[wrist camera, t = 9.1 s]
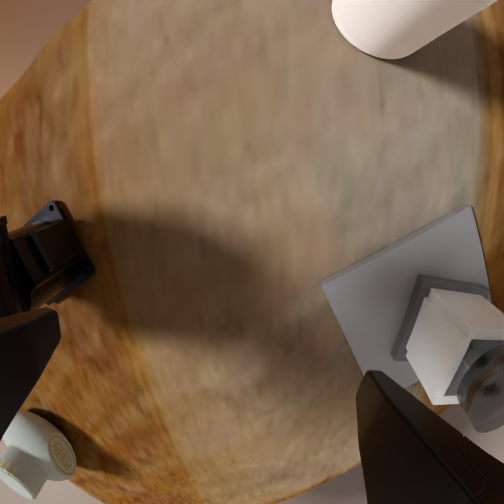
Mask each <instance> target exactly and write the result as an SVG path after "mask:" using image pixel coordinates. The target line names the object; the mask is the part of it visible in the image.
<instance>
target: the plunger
mask: <svg viewBox="0 0 504 504" xmlns="http://www.w3.org/2000/svg"><path fill="white" fill-rule="evenodd" d="M463 360H464V361H465V362H466V364H467V365H468V366H469V369H468V370H467V371H466V373H465V374H464V376H463V378H462V380H461V382H460V384H459V387H458V390H457V399H458V401H459V403H460V404H461V406H462V408H463V410H464V411H465V413H466V415H467V416H468V418H469V420H470V421H471V423H472V425H473V426H474V428H475V430H476V431H478V432H482V433H484V432H489V431H492V430H495V429H497V428H499V427H501V426H502V425H504V345H502V346H497V347H495V348H493V349H491V350H489V351H487V352H486V353H484V354H483V355H482V356H480V354H479V353H478V352H477V351H476V350H475V349H474V348H473V346H472V345H471V344H469V346H468V349H467V351H466V353H465V355H464V357H463Z"/></svg>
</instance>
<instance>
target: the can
mask: <svg viewBox="0 0 504 504" xmlns="http://www.w3.org/2000/svg"><path fill="white" fill-rule="evenodd" d="M496 1H497V0H333V1H332V15H333V18H334V21H335V23H336V25H337V27H338V29H339V30H340V32H341V33H342V35H343V36H344V37H345V38H346V39H347V40H348V41H349V42H350V43H351V44H353V45H354V46H355V47H357V48H358V49H360V50H361V51H363V52H365V53H367V54H370V55H372V56H375V57H378V58H383V59H399V58H403V57H406V56H408V55H410V54H412V53H414V52H415V51H417V50H419V49H420V48H422V47H423V46H425V45H426V44H428V43H429V42H431V41H433V40H434V39H436V38H437V37H439V36H441V35H442V34H444V33H445V32H447V31H449V30H450V29H452V28H453V27H455V26H457V25H458V24H460V23H461V22H463V21H465V20H466V19H468V18H470V17H471V16H473V15H475V14H476V13H478V12H480V11H481V10H483V9H485V8H486V7H488V6H490V5H491V4H493V3H494V2H496Z"/></svg>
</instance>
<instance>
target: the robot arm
mask: <svg viewBox="0 0 504 504" xmlns="http://www.w3.org/2000/svg"><path fill="white" fill-rule="evenodd" d="M52 205H53V206H54V210H53V209H52ZM6 224H7V218H6V215H5V216H1V217H0V441H1V439H2V437H3V435H4V434H5V432H6V430H7V429H8V427H9V425H10V424H11V422H12V420H13V419H14V417H15V416H16V414H17V412H18V411H19V409H20V407H21V406H22V404H23V403H24V401H25V400H26V398H27V397H28V395H29V393H30V392H31V390H32V389H33V387H34V386H35V384H36V383H37V381H38V380H39V378H40V376H41V375H42V373H43V371H44V369H45V367H46V365H47V363H48V362H49V360H50V358H51V356H52V354H53V352H54V351H55V349H56V347H57V345H58V343H59V341H60V338H61V331H60V325H59V318H58V313H57V312H56V311H55V310H53V309H50V308H46V307H44V308H40V307H41V306H42V305H43V304H45V303H46V304H48V305H50V304H52V303H53V302H55V301H56V300H58V299H59V298H60V297H62V296H63V295H65V294H66V293H68V292H69V291H71V290H72V289H74V288H75V287H77V286H78V285H80V284H82V283H83V282H85V281H86V280H88V279H89V278H91V277H92V276H93V275H94V274H95V269H94V267H93V265H92V263H91V262H90V260H89V258H88V257H87V255H86V253H85V251H84V250H83V248H82V246H81V244H80V242H79V240H78V239H77V237H76V235H75V233H74V232H73V230H72V228H71V226H70V224H69V222H68V221H67V219H66V217H65V215H64V213H63V211H62V210H61V208H60V206H59V204H58V202H57V201H50V202H48V203H47V204H46V205H45V206H44V207H43V208H42V209H41V210H40V211H39V212H38V213H37V214H36V215H35V216H34V217H33V218H32V219H31V220H29V221H28V222H27V223H26V224H25V225H24V226H23V227H21V228H19V229H16V230H13V231H11V232H8V231H7V226H6ZM87 269H88V270H89V271H90V273H88V272H87ZM38 308H40V309H38ZM356 408H357V424H358V442H359V450H360V456H361V463H362V469H363V475H364V482H365V488H366V496H367V502H368V504H504V463H502V462H500V461H499V460H497V459H496V458H494V457H493V456H491V455H490V454H488V453H487V452H485V451H484V450H482V449H481V448H480V447H478V446H477V445H476V444H474V443H473V442H472V441H471V440H469V439H468V438H467V437H465V436H464V437H463V434H461V433H460V432H459V431H458V430H456V429H455V428H454V427H452V426H451V425H450V424H449V423H447V422H446V421H445V420H443V419H442V418H441V417H440V416H438V415H437V414H436V413H434V412H433V411H432V410H431V409H429V408H428V407H427V406H426V405H424V404H423V403H422V402H420V401H419V400H418V399H417V398H415V397H414V396H413V395H412V394H410V393H409V392H408V391H406V390H405V389H404V388H403V387H401V386H400V385H399V384H398V383H396V382H395V381H394V380H393V379H391V378H390V377H389V376H387V375H386V374H385V373H384V372H382V371H380V370H368V371H367V372H366V373H365V375H364V377H363V380H362V382H361V384H360V387H359V389H358V391H357V395H356Z"/></svg>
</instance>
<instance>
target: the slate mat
mask: <svg viewBox="0 0 504 504" xmlns="http://www.w3.org/2000/svg"><path fill="white" fill-rule="evenodd" d="M418 274H421V275H427V276H433V277H439V278H445V279H452V280H458V281H464V282H470V283H476V284H482V285H484V286H486V287H487V288H488V289H489V283H488V277H487V272H486V266H485V261H484V257H483V252H482V247H481V243H480V239H479V234H478V230H477V227H476V223H475V219H474V215H473V212H472V208H471V206H470V205H467V204H464V205H462V206H460V207H458V208H457V209H455V210H453V211H451V212H450V213H448V214H446V215H444V216H443V217H441V218H439V219H437V220H436V221H434V222H432V223H430V224H428V225H427V226H425V227H423V228H421V229H419V230H418V231H416V232H414V233H412V234H410V235H408V236H407V237H405V238H403V239H401V240H399V241H397V242H395V243H393V244H392V245H390V246H388V247H386V248H384V249H382V250H380V251H378V252H376V253H374V254H373V255H371V256H369V257H367V258H365V259H363V260H361V261H359V262H357V263H355V264H353V265H351V266H349V267H347V268H345V269H343V270H341V271H339V272H337V273H335V274H333V275H331V276H329V277H327V278H325V279H323V280H321V281H319V282H320V285H321V288H322V290H323V292H324V294H325V296H326V298H327V300H328V302H329V304H330V306H331V308H332V310H333V312H334V314H335V316H336V318H337V320H338V322H339V324H340V327H341V329H342V331H343V333H344V335H345V337H346V339H347V341H348V343H349V346H350V348H351V350H352V352H353V354H354V356H355V358H356V361H357V363H358V365H359V367H360V369H361V371H362V374H363V376H364V375H365V373H366V372H367V371H368V370H380V371H382V372H384V373H385V374H386V375H387V376H389V377H390V378H391V379H393V380H394V381H395V382H396V383H398V384H399V385H400V386H401V387H403V388H406V387H408V386H410V385H412V384H414V383H416V382H418V381H420V380H419V378H418V377H417V375H416V373H415V371H414V369H413V368H412V366H411V364H410V362H404V361H394V360H393V358H392V356H391V354H390V353H391V350H392V348H393V345H394V343H395V340H396V337H397V335H398V332H399V329H400V327H401V324H402V321H403V318H404V315H405V313H406V310H407V307H408V304H409V301H410V298H411V295H412V292H413V289H414V285H415V282H416V279H417V276H418ZM487 300H488V301H489V302H490V303H491V296H490V292H489V295H488V297H487ZM491 304H492V303H491Z"/></svg>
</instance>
